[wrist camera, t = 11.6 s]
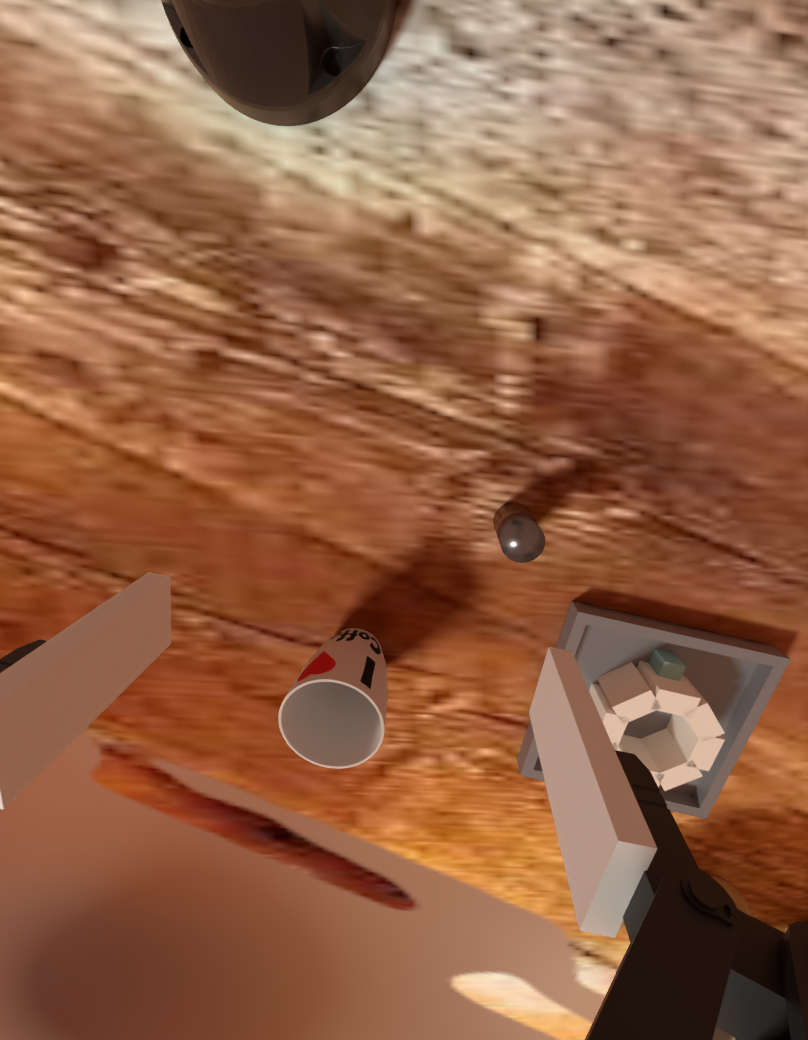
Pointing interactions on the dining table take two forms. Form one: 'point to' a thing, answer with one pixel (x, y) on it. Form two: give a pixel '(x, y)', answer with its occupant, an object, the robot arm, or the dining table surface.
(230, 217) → the dining table surface
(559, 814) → the robot arm
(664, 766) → the ring
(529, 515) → the capsule
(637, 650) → the tray
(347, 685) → the cup
